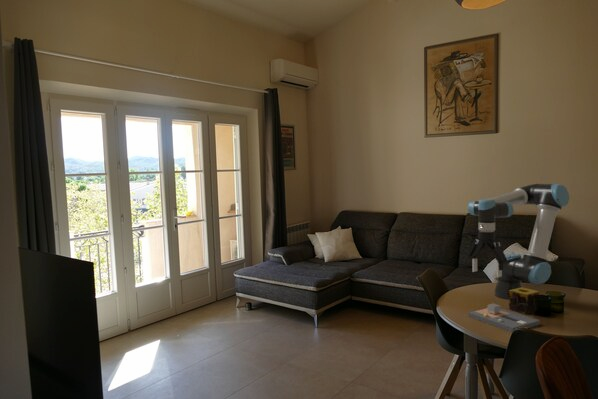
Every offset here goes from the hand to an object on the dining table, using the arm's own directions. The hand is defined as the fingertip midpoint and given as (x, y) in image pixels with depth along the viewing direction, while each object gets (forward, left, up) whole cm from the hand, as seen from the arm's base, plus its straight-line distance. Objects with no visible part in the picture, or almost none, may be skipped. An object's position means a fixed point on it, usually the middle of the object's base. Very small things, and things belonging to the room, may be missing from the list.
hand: (486, 274), depth 208 cm
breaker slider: (+6, -3, -17) cm, 18 cm away
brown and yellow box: (+7, +18, -20) cm, 28 cm away
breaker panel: (+11, -3, -20) cm, 23 cm away
